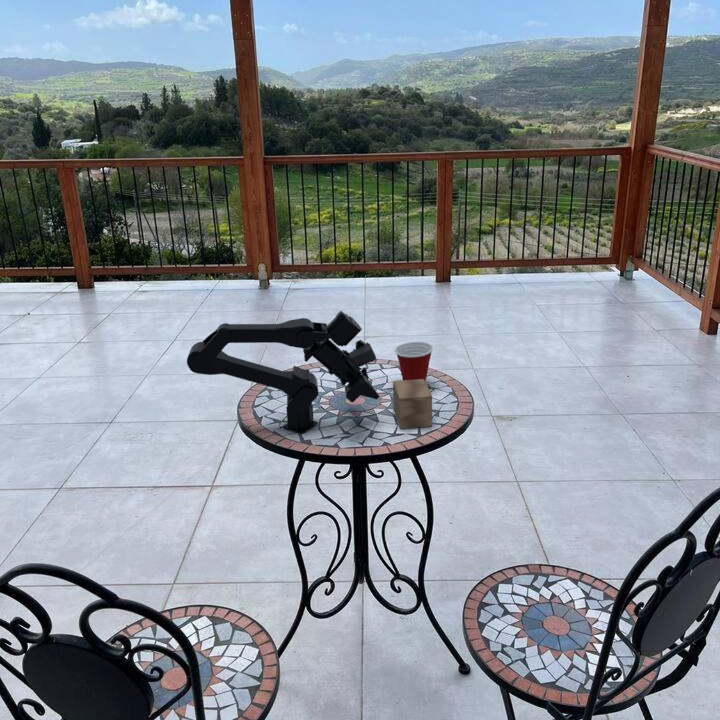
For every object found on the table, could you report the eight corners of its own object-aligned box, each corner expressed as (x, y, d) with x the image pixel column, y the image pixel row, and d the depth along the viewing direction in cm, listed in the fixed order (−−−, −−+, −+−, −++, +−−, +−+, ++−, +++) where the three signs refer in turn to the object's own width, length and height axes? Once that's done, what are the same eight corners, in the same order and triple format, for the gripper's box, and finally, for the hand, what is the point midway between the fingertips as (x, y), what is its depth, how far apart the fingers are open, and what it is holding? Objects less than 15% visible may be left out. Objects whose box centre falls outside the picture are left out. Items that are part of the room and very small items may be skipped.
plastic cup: (388, 383, 195) (387, 344, 191) (422, 377, 198) (422, 338, 194) (404, 397, 185) (404, 356, 181) (439, 390, 189) (440, 350, 185)
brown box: (399, 428, 168) (399, 398, 165) (393, 409, 178) (393, 381, 175) (431, 426, 168) (432, 396, 165) (423, 407, 179) (423, 379, 176)
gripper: (359, 348, 155) (407, 390, 160) (352, 323, 172) (395, 361, 177) (326, 381, 157) (373, 422, 162) (322, 353, 174) (365, 391, 179)
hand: (378, 397), depth 170 cm, fingers closed
